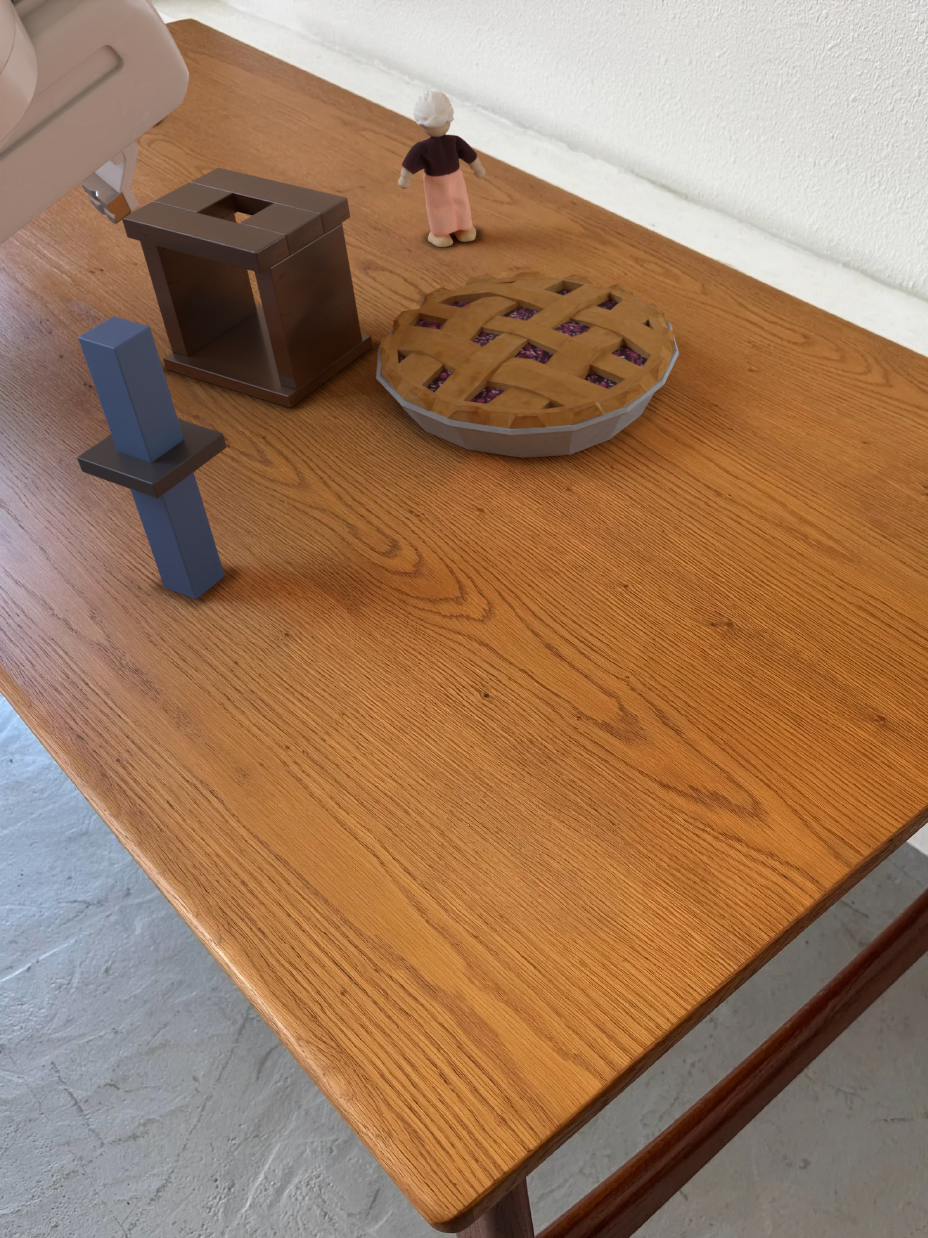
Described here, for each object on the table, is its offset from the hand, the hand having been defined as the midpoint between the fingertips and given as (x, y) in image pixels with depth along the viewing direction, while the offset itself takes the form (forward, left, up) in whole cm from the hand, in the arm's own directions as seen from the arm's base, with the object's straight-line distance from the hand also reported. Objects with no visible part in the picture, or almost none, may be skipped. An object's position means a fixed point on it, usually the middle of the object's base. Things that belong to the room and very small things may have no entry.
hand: (40, 269), depth 58 cm
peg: (+1, +3, -22) cm, 22 cm away
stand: (+2, +30, -22) cm, 38 cm away
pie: (+22, +24, -22) cm, 40 cm away
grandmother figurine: (+15, +50, -22) cm, 57 cm away
